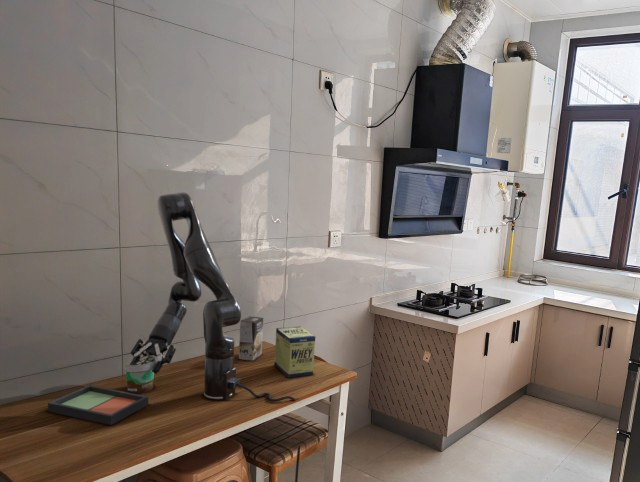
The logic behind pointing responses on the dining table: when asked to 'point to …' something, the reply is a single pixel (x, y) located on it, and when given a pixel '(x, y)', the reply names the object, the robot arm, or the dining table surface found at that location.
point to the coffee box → (250, 338)
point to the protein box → (294, 351)
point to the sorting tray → (98, 404)
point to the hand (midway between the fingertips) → (143, 370)
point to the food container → (140, 375)
